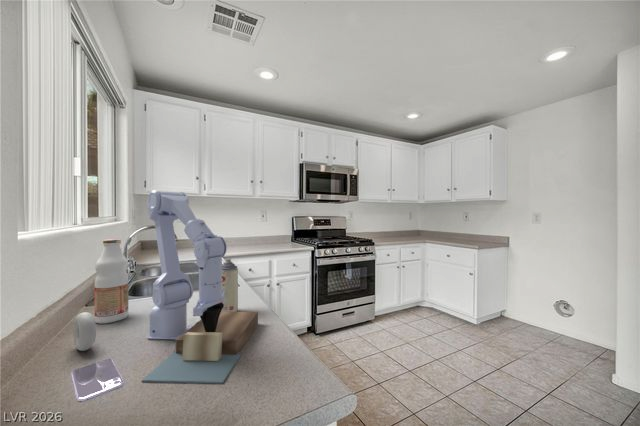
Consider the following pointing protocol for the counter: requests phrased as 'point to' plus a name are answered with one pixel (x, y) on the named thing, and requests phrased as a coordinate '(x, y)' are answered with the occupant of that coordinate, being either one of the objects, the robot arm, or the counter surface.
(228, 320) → the board
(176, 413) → the counter surface
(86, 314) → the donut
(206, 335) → the wooden tile
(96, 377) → the mobile phone
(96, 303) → the fruit juice
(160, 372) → the slate mat
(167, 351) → the counter surface
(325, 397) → the counter surface
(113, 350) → the counter surface
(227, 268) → the aerosol can
